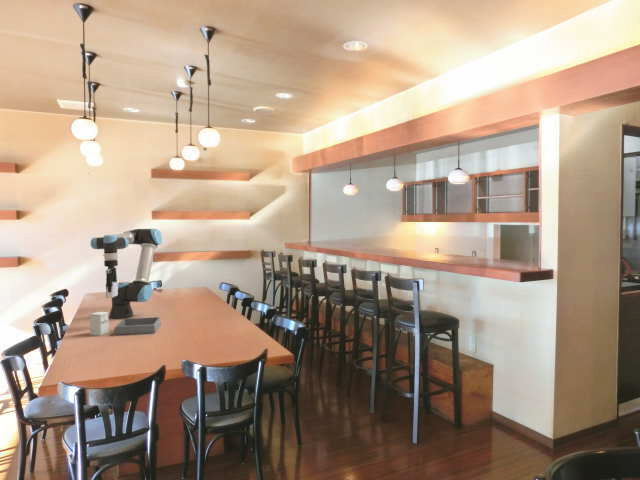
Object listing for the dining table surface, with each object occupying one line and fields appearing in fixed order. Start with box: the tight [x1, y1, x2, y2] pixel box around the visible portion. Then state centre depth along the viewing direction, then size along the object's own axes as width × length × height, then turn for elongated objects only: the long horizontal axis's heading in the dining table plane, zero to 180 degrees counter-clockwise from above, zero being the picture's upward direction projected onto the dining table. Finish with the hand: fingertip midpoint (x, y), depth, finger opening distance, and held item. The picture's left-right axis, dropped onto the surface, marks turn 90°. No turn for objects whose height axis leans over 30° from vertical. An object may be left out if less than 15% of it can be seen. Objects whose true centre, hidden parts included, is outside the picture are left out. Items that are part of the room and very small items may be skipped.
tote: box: [114, 316, 162, 337], centre depth 271 cm, size 22×22×5 cm
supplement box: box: [89, 311, 110, 337], centre depth 262 cm, size 7×7×13 cm
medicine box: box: [105, 281, 119, 299], centre depth 276 cm, size 8×4×9 cm, turn 5°
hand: (112, 296), depth 276 cm, fingers closed on medicine box, 8 cm apart
